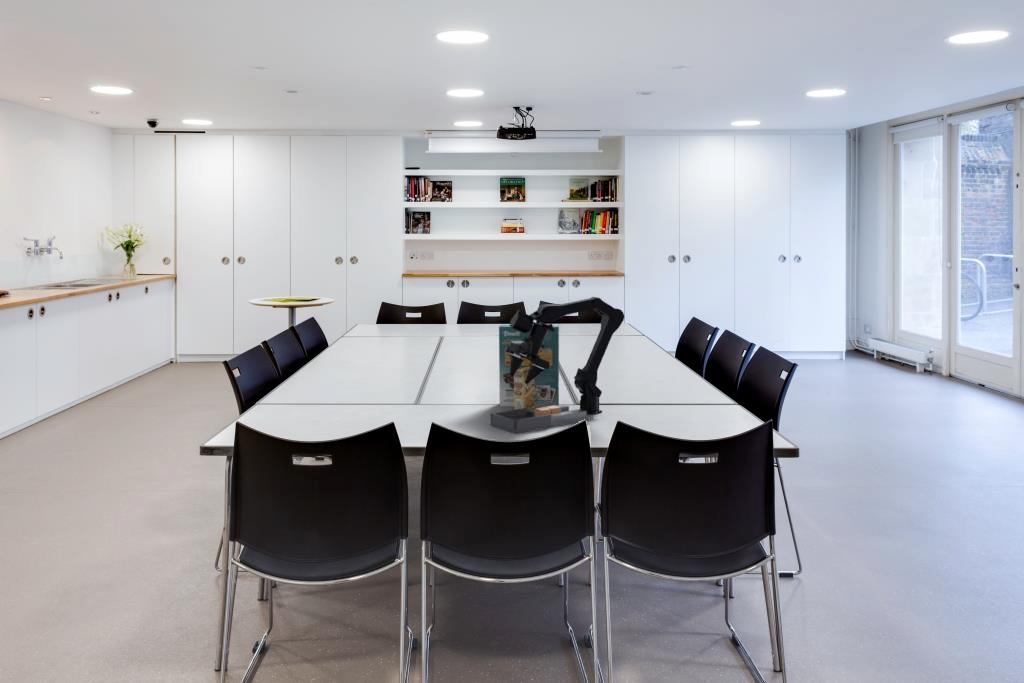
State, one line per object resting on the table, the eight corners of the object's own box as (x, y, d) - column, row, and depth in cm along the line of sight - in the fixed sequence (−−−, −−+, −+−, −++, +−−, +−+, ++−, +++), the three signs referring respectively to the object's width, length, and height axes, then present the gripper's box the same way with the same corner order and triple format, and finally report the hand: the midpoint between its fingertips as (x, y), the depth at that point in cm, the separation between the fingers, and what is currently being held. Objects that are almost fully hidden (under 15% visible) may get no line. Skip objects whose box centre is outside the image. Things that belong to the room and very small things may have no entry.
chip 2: (554, 415, 295) (554, 405, 294) (561, 417, 292) (561, 407, 291) (545, 416, 292) (545, 406, 292) (552, 418, 289) (552, 408, 289)
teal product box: (558, 403, 319) (558, 325, 315) (558, 407, 313) (558, 327, 309) (501, 402, 321) (500, 324, 317) (499, 406, 315) (499, 326, 311)
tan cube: (544, 416, 292) (544, 407, 292) (551, 419, 289) (551, 409, 289) (535, 418, 290) (535, 408, 289) (541, 420, 287) (541, 410, 286)
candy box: (523, 412, 305) (523, 370, 303) (513, 411, 307) (513, 369, 305) (535, 407, 312) (535, 366, 310) (525, 406, 315) (525, 366, 312)
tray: (526, 419, 294) (526, 407, 293) (551, 426, 283) (551, 414, 282) (490, 425, 285) (490, 413, 285) (515, 433, 274) (514, 421, 274)
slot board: (561, 413, 303) (561, 404, 303) (587, 420, 292) (587, 411, 292) (526, 419, 294) (526, 410, 294) (551, 426, 283) (551, 417, 282)
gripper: (504, 325, 297) (486, 365, 298) (535, 338, 283) (517, 381, 283) (526, 334, 304) (509, 374, 305) (558, 348, 290) (540, 390, 290)
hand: (518, 379), depth 295 cm, fingers open, 9 cm apart
